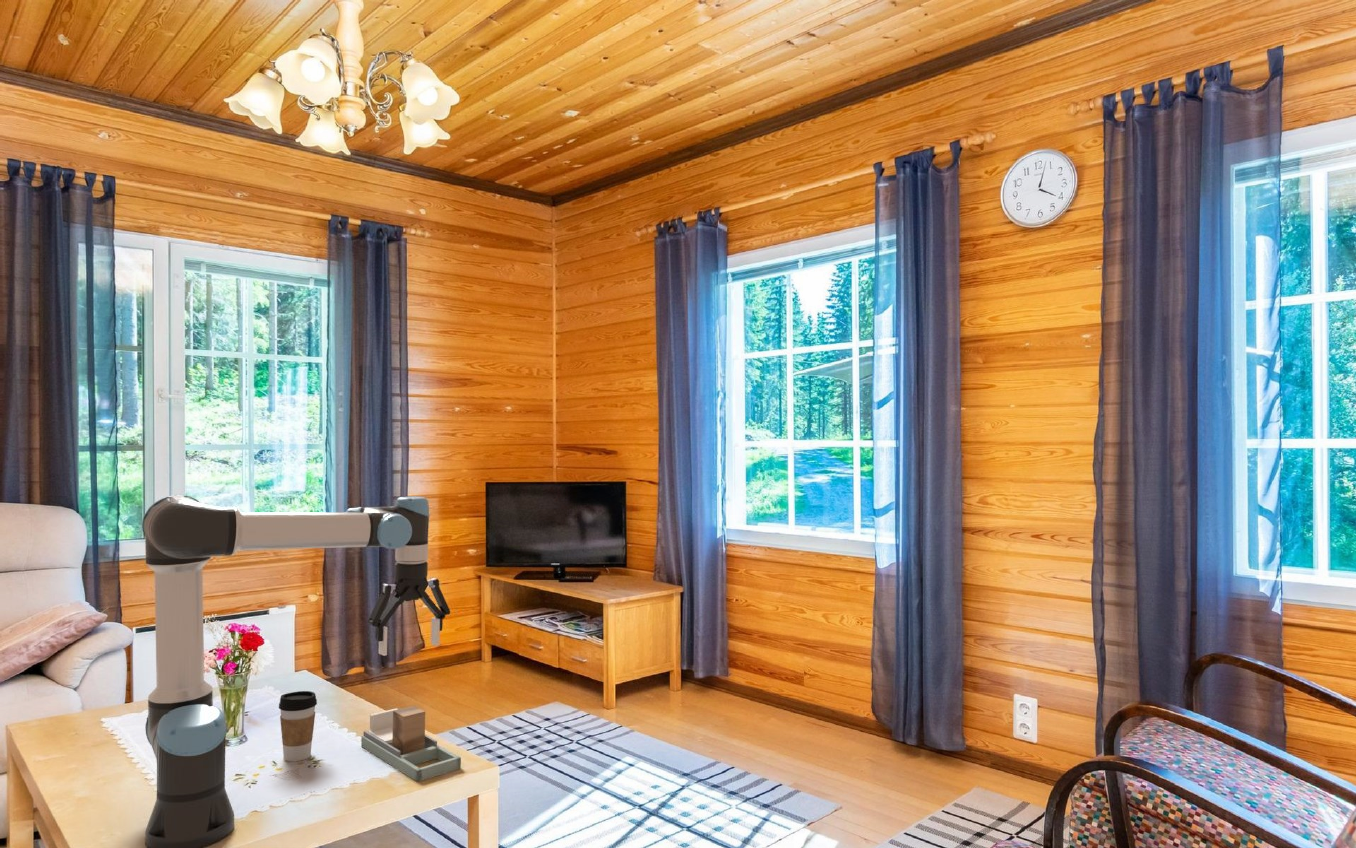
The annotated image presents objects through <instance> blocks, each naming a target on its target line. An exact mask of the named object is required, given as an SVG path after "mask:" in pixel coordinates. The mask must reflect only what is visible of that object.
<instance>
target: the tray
mask: <svg viewBox="0 0 1356 848" xmlns="http://www.w3.org/2000/svg"><path fill="white" fill-rule="evenodd" d="M368 731H369V730H363V732H362V733H363V736H361V740H360V741H361V744H360V745H361V746H360V747H362V748H363V749H364V750H366V749H367V750H366V751H367V752H369V751H370V753H371V754H373V755H374V756H376V757H378V758H379V759H380V760H382V761H383V762H385V763H387V764H389V765H390V766H392V767H394V768H395V769H397V770H398V771H400V772H401V773H403V774H404V775H406V776H408V777H409V778H411V779H412V780H414V781H415V782H420V781H424V779H425V780H428V779H430V778H433V777H436V776H440V775H444V774H446V773H450V772H453V771H457V770H460V769H462V767H461V765H462V764H461V763H462V760H461V759H462V757H460V756H458V755H457V754H456V753H453V752H451V751H449V750H448V749H446V748H444V747H442V746H440V745H439V744H438V740H436V739H434V738H433V737H430V736H429V735H426V734H425V749H422V750H418V751H415V752H411V753H408V754H404V755H401V751H399V750H398V749H396V748H394V747H393V746H392V743H389V744H388V743H386V742H384V741H383V740H381V739H379V738H378V737H376V736H374V735H373V734H371V733H369V732H368ZM435 759H438V760H440V761H438V762H435V763H432V764H429V765H425V766H422V767H418V765H419V764H422V763H426V762H428V761H432V760H435ZM416 765H417V766H416Z"/></svg>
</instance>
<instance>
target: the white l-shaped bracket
mask: <svg viewBox="0 0 1356 848" xmlns="http://www.w3.org/2000/svg"><path fill="white" fill-rule="evenodd" d="M398 709H399V708H398V707H396V708H392V709H389V710H384V711H383V710H382V711H380V712H375V713H371V714H370V715H369V730H367V731H368V732H369V733H371V734H373V735H374V736H376V737H378V738H379V739H381V740H383V741H384V742H386V743H388V744H389V743H392V741H393V711H394V710H398Z"/></svg>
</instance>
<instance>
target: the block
mask: <svg viewBox="0 0 1356 848" xmlns="http://www.w3.org/2000/svg"><path fill="white" fill-rule="evenodd" d="M397 709H398V710H394V711H393V741H392V746H393V747H394V748H396V749H398V750H399V751H401V755H404V754H408V753H411V752H415V751H418V750H422V749H425V735H426V711H425V710H423V709H421V708H419V707H418V706H416V705H411V706H408V707H402V708H397Z"/></svg>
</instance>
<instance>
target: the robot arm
mask: <svg viewBox="0 0 1356 848" xmlns="http://www.w3.org/2000/svg"><path fill="white" fill-rule="evenodd" d="M429 522H430V505H429V500H428V499H427V498H426V497H423V496H400V497H398V498H397V499H396V502H395V505H392V506H371V507H370V506H366V507H362V506H358V507H351V508H347V509H346V510H345V512H267V511H266V512H262V511H261V512H253V511H252V512H251V511H250V512H241V511H239V510H238V509H237V508H236V507H235V506H233V507H231V506H230V507H229V506H226V507H224V506H214V505H210V504H209V505H208V504H205V503H202V502H201V501H199V500H198V499H196V498H194V497H192V496H189V495H181V494H180V495H178V494H175V495H169V496H165V497H163V498H160V499H158V500H156V501H155V502H153V503H152V504H151V505H150V506H149V507H148V509H147V510H146V511H145V513H144V515H143V518H142V522H141V530H142V533H143V536H144V538H145V539H144V540H145V541H144V542H145V543H144V544H145V545H144V546H145V565H146V566H147V567H148V568H149V569H151V570H152V571H153V573H154V608H155V609H154V612H155V613H154V615H155V616H154V618H155V619H154V621H155V622H154V623H155V669H156V672H155V674H156V677H155V678H156V687H155V689H153V690H152V691H151V693H149V694H148V696H147V711H148V712H147V713H148V714H147V717H146V722H145V725H144V726H145V729H144V730H145V735H146V739H147V741H148V743H149V745H150V747H151V749H152V751H153V754H154V756H155V760H156V798H155V803H154V806H153V808H152V812H151V814H150V817H149V818H148V819H149V820H148V823H147V826H146V828H145V838H144V840H145V841H144V843H145V846H146V847H147V848H204V847H207V846H209V845H211V844H214V843H217V842H219V841H220V840H222V839H224V838H226V837H227V836H229V835H230V834H231V832H232V831H233V830H234V827H235V812H234V808H233V807H232V804H231V801H230V799H229V796H228V793H227V791H226V739H227V736H226V735H227V730H228V725H227V722H226V715H225V713H224V712H223V710H221V709H220V708H219V707H217V706H214V704H213V703H214V700H213V699H214V698H213V697H214V696H213V686H212V685H211V684H210V683H208V682H206V680H205V653H204V649H205V648H204V645H205V642H204V640H205V639H204V594H203V593H204V585H203V581H204V580H203V578H204V577H203V576H204V575H203V571H204V570H203V568H204V567H205V566H206V565H207V564H208V563H209V562H210V561H211V557H226V556H227V557H229V556H234V555H235V554H236V553H237V552H239V551H257V550H260V551H261V550H262V551H263V550H264V551H265V550H291V549H293V550H294V549H295V550H296V549H297V550H298V549H331V548H332V549H334V548H335V549H337V548H380V547H381V548H382V547H383V548H385V549H387V550H389V549H392V550H395V554H394V556H395V561H396V562H395V564H394V579H395V580H394V583H393V584H388V583H382V584H381V591H380V594H379V596H378V599H377V601H376V603H375V605H374V607H373V609H372V612H371V614H370V615H369V618H368V620H367V624H368V626H369V625H370V626H372V627H375V641H377V642H378V654H379V655H381V656H383V657H385V656H387V655H388V626H386V625H387V623H388V622H389V620H390V619H391V617H392V616H393V615H394V614H395V612H396V611H397V610H398V609H399V607H400V605H402V604H403V603H404V602H410V601H412V600H413V601H418V600H421V601H422V602H423V604H424V605H425V607H426V608H428V609H429V611H430V612H431V613H432V614H433V615H434V617H431V618H430V619H431V621H430V623H431V626H430V627H431V628H430V629H431V631H430V644H431V645H432V646H435V647H439V646H440V633H441V631H443V624H444V623H443V621H444V620H445V618H446V616H447V615H450V614H451V610H450V608H449V605H448V603H447V601H446V597H444V595H443V592H442V589H441V587H440V580H439V579H438V578H435V577H430V579H427V578H428V570H429V569H428V568H429V567H428V564H429V563H428V562H427V560H428V559H429V527H430V526H429V525H430V523H429ZM427 588H429V589H430V591H431V593H432V595H433V597H434V600H435V601H436V603H437V605H436V603H435V602H434V601H433V600H432V599H431V598H430V596H429V594H428V593H427V592H426V589H427ZM393 591H394V592H395V594H394V595H393V596H392V598H391V600H390V602H389V599H390V597H391V594H393ZM388 602H389V603H388Z"/></svg>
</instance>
